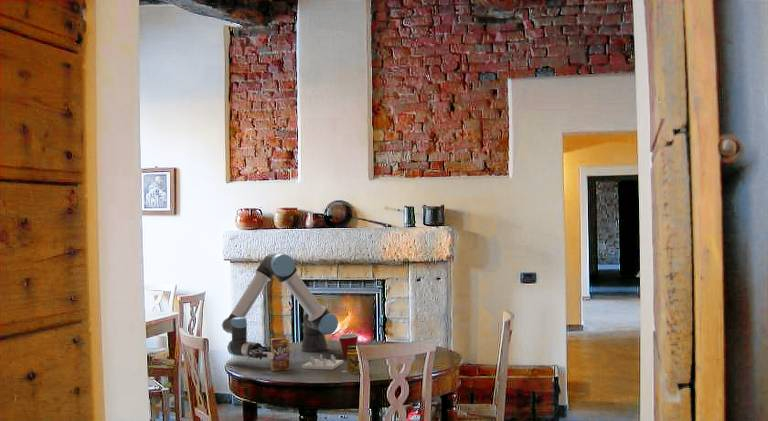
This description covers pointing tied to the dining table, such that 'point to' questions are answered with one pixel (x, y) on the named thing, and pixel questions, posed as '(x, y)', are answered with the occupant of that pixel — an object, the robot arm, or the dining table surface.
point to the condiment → (352, 360)
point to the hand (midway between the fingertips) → (282, 353)
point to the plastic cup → (347, 342)
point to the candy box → (280, 354)
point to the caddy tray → (322, 363)
